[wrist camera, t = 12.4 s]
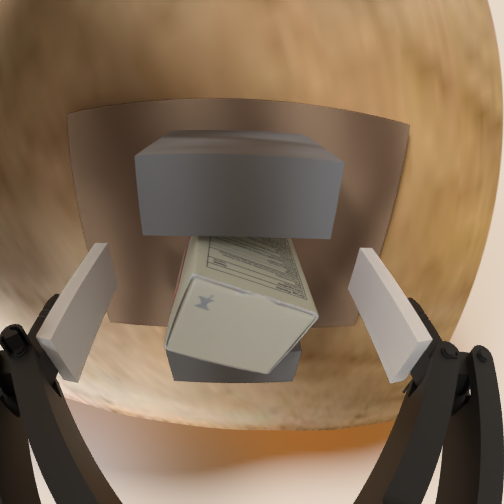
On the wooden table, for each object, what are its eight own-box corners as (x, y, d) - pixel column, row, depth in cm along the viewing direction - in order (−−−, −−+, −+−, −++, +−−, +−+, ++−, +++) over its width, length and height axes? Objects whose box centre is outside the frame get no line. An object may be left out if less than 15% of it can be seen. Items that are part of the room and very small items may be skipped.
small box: (183, 249, 17) (158, 351, 11) (208, 188, 15) (189, 273, 9) (256, 275, 19) (268, 378, 12) (288, 221, 17) (323, 317, 10)
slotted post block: (113, 313, 21) (88, 382, 15) (75, 111, 13) (-2, 135, 7) (350, 316, 23) (377, 383, 17) (401, 122, 14) (478, 150, 9)
